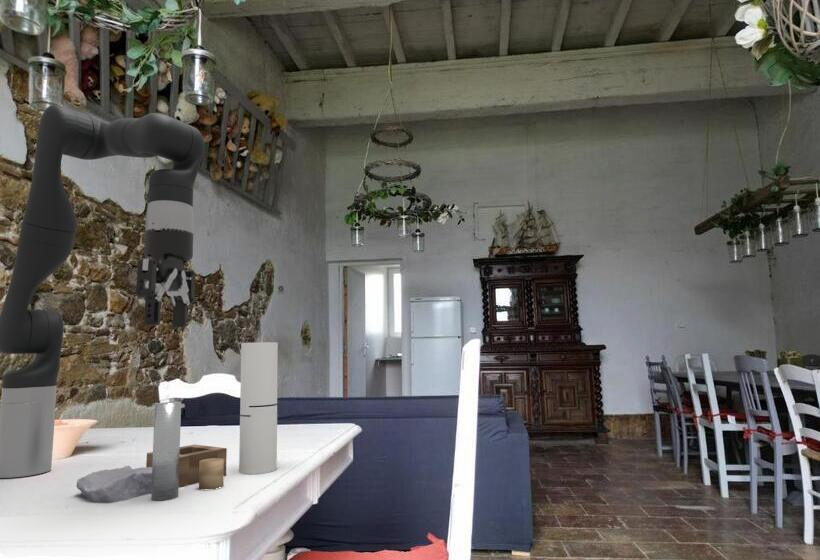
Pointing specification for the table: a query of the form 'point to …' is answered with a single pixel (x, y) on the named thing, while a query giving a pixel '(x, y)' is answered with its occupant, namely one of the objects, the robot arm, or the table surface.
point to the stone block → (116, 484)
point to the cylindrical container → (258, 408)
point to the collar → (193, 461)
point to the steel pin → (166, 451)
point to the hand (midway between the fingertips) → (166, 326)
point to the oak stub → (211, 473)
